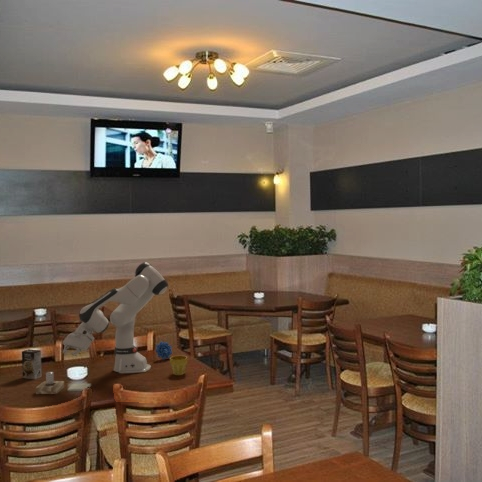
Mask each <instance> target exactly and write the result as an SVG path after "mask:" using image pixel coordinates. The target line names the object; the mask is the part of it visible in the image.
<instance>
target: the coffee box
mask: <svg viewBox="0 0 482 482" xmlns="http://www.w3.org/2000/svg"><path fill="white" fill-rule="evenodd" d="M21 366H22V378H23V379H29V380H36V379H37V380H38V379H39V378H41V377H42V351H41V350H39V349H31V348H29V349H25V350H22V351H21Z"/></svg>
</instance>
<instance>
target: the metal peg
mask: <svg viewBox="0 0 482 482" xmlns="http://www.w3.org/2000/svg"><path fill="white" fill-rule="evenodd" d="M54 377H55V375H54V371H47V372H45V381H46V386H53V385H54V381H55V378H54Z"/></svg>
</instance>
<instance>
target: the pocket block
mask: <svg viewBox="0 0 482 482" xmlns="http://www.w3.org/2000/svg"><path fill="white" fill-rule="evenodd" d="M64 388H65V380H54V385H53V386H46V380H44V381H42V382H41V383H40V384H38V385H37V386H36V387H35V394H36V395H53V394H54V395H57V394H59V392H61V391H62V390H63V389H64Z"/></svg>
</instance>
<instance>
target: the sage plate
mask: <svg viewBox="0 0 482 482" xmlns="http://www.w3.org/2000/svg"><path fill="white" fill-rule="evenodd" d="M91 386H92V383H73V384H72V385H70V387H68V388H67V392H83V391H82V390H83V389H84V388H87V387H89V388H90V387H91Z"/></svg>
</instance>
